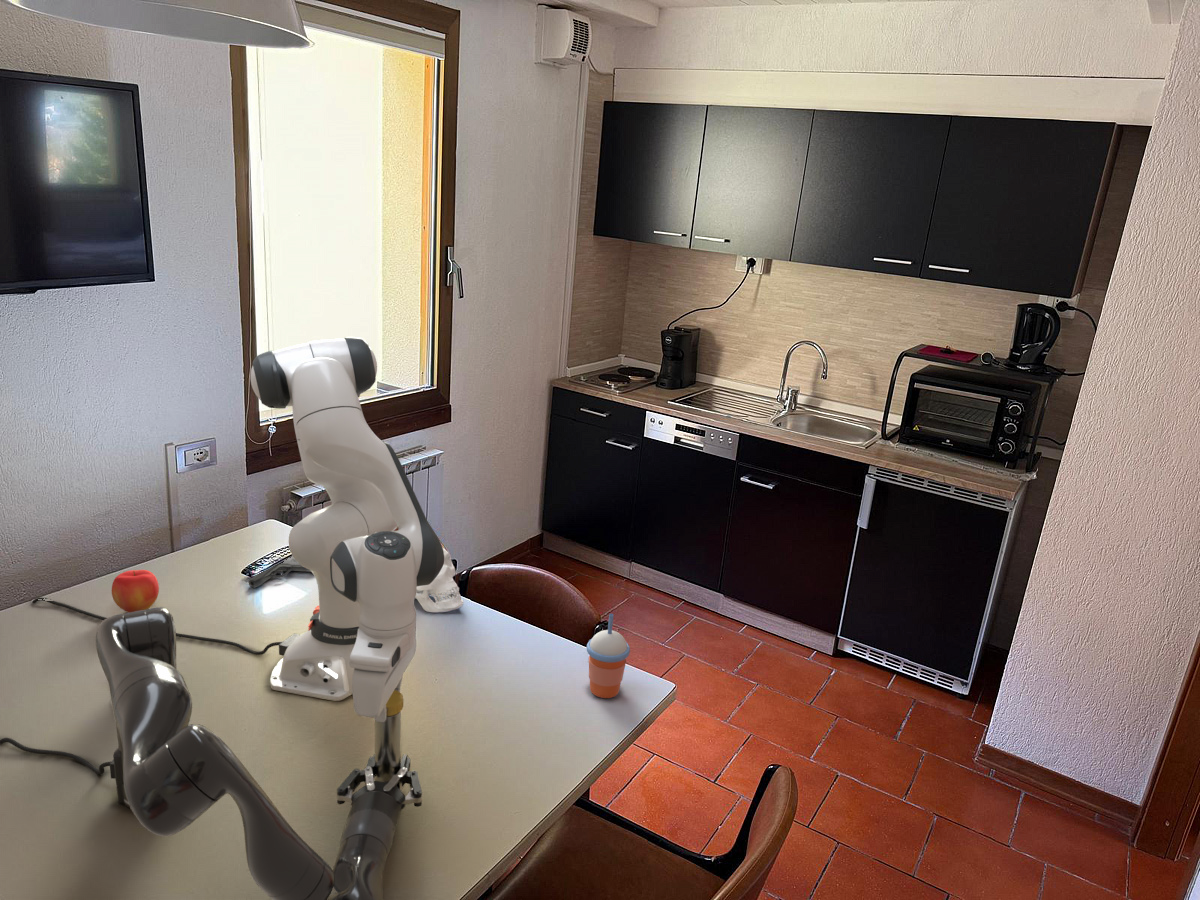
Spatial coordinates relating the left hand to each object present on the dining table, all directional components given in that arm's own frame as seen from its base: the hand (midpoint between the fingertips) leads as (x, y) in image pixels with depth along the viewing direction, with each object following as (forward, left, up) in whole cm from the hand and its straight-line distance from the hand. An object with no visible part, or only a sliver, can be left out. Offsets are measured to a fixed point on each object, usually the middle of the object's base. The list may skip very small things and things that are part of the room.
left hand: (390, 758), depth 146 cm
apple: (-68, +57, -6) cm, 89 cm away
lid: (0, -3, +13) cm, 14 cm away
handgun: (-41, +79, -6) cm, 89 cm away
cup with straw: (+39, +33, -6) cm, 51 cm away
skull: (-4, +69, -6) cm, 70 cm away
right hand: (0, -3, +12) cm, 12 cm away
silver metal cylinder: (0, -3, -6) cm, 7 cm away
